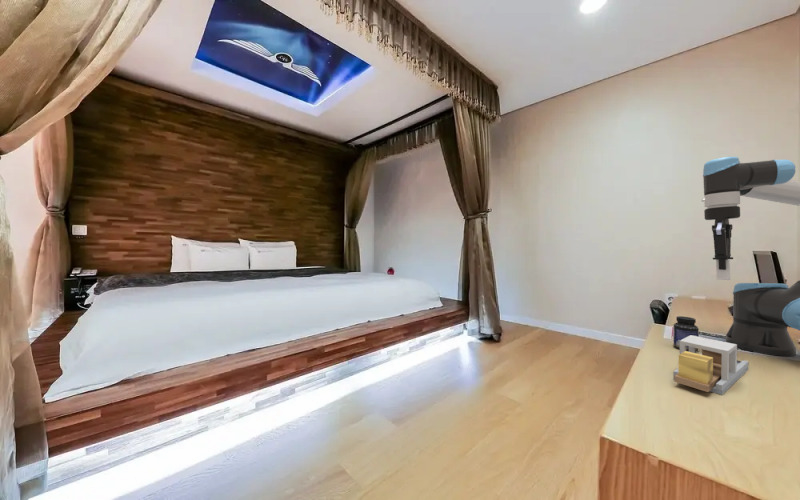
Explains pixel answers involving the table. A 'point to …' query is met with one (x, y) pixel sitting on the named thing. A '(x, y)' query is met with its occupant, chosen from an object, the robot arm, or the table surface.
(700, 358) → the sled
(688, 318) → the pill bottle
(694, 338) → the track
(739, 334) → the robot arm
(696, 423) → the table surface
